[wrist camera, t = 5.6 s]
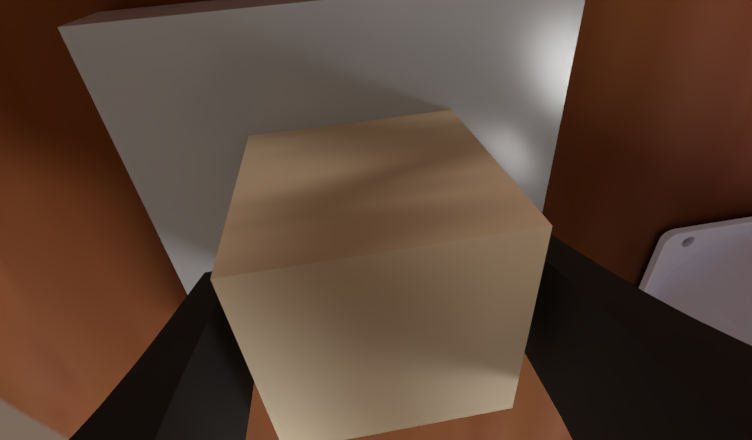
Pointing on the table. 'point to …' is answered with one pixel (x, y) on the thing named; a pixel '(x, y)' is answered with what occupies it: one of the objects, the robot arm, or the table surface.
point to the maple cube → (379, 275)
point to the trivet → (313, 88)
